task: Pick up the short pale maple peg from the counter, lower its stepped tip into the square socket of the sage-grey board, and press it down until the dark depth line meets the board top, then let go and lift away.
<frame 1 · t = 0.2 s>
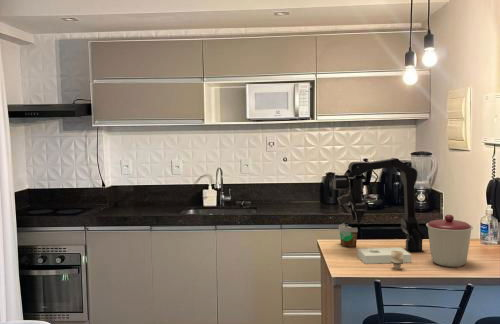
hand: (356, 221, 211), 15 cm above the table, tool pointing down, fingers open, 9 cm apart
food container: (345, 246, 224), on the table
peg: (397, 268, 185), on the table
board: (383, 259, 199), on the table
canister: (448, 264, 191), on the table
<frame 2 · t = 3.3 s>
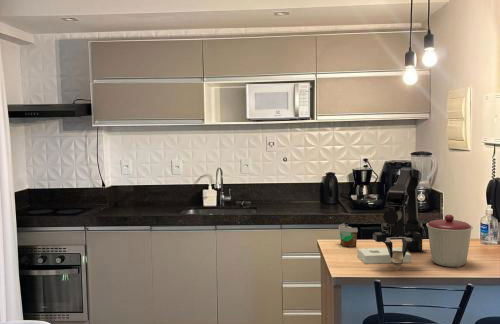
hand: (397, 257, 185), 5 cm above the table, tool pointing down, fingers closed on peg, 5 cm apart
peg: (397, 268, 185), on the table, touching gripper
everything else where it was.
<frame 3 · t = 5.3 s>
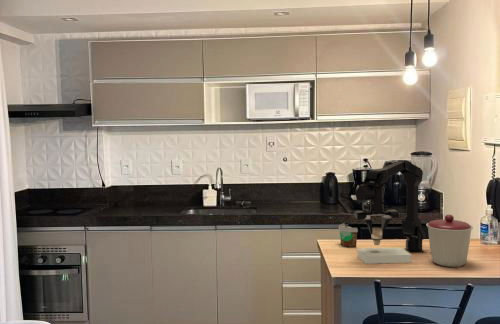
hand: (376, 233, 197), 12 cm above the table, tool pointing down, fingers closed on peg, 5 cm apart
peg: (376, 244, 198), point 7 cm above the table, touching gripper
everything else where it was.
when the fingers open (6 cm above the table, at t = 7.7 s): peg stays where it is, resting on board.
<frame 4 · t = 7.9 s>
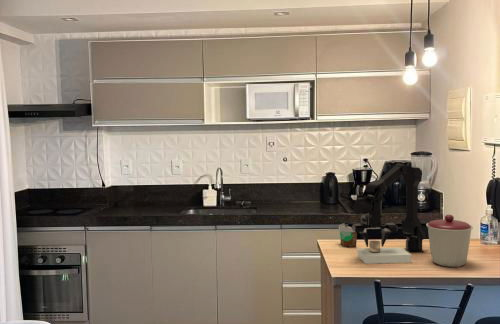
hand: (374, 246, 199), 6 cm above the table, tool pointing down, fingers open, 6 cm apart
peg: (374, 257, 199), point 1 cm above the table, touching board
everything else where it was.
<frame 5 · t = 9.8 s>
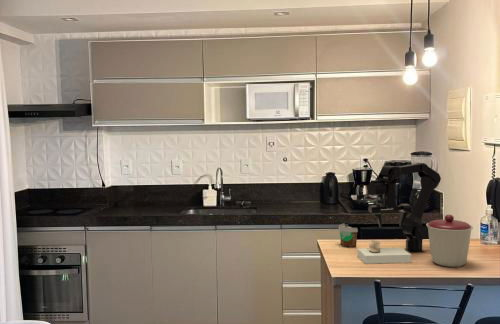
hand: (390, 227, 206), 13 cm above the table, tool pointing down, fingers open, 9 cm apart
nothing on the table moved.
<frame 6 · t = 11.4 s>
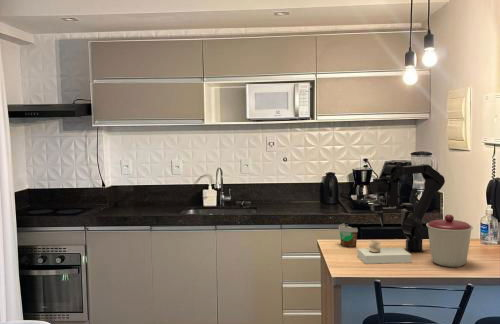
hand: (392, 225, 208), 13 cm above the table, tool pointing down, fingers open, 9 cm apart
nothing on the table moved.
at the end: peg 0.0 cm from the target spot on the board, point 1.0 cm above the board's base; peg tilted 0°; the gripper is holding nothing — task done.
